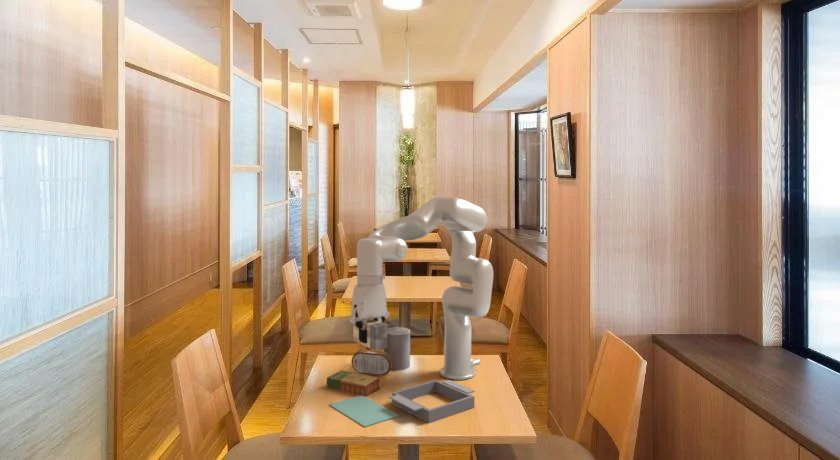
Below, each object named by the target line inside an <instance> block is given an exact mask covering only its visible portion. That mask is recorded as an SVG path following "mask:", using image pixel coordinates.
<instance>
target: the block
mask: <svg viewBox="0 0 840 460" xmlns="http://www.w3.org/2000/svg"><path fill="white" fill-rule="evenodd" d="M356 320H357V321H358V318H356ZM352 326H353V327H352V330H353V333H352V334H353V337H352V342H354V343H356V344H359V345H361V346H363V347H367V348H369V349H370V350H371V349H372V351H380V350H381V351H382V350H384V349H385V348H387V328H388V324H386V323H384V322H383V323H381V322H378V321H375V320H373V319H367V322H366V328H365V330H367V343H362V342H360V341H359V329H358V328H357V327H356V326H355V325H354V324H353V323H352Z"/></svg>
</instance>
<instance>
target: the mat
mask: <svg viewBox="0 0 840 460" xmlns="http://www.w3.org/2000/svg"><path fill="white" fill-rule="evenodd" d="M328 405H329V407H332V408H333V409H334V410H336V411H338V412H339V413H341V414H343V415H344V416H345V417H347V418H349V419H350V420H353V422H355V421H356V422H355V423H358V425H360V426H362V427H363V426H364V427H363V428H367V427H370V426H373V425H376V424H380V423H383V422H386V421H389V420H392V419H396V418H398V417H400V415H399V414H398V413H395V412H394V411H392V410H390V409H388V408H386V407H385V406H383V405H382V404H379V403H377V402H376V401H374V400H373V399H370V398H369V397H368V396H367V397H365V396H363V395H356V396H352V397H350V398H347V399H346V398H345V399H342V400H339V401H335V402H332V403H329V404H328Z"/></svg>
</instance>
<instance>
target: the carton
mask: <svg viewBox="0 0 840 460" xmlns="http://www.w3.org/2000/svg"><path fill="white" fill-rule="evenodd" d="M380 380H381V379H380V377H376V376H374V375H369V374H361V373H358V372H351V371H347V370H342V369H341V370H339V371H336V372H335V373H333V374H331V375H329V376H328V377H327V378H326V388H327V389H330V390H335V391H339V392H343V393H347V394H353V395H356V396H360V395H363V396H366V397H367V398H368V396H370V395H371V394H373V393H375V392H376V391H378V390H380V387H381V381H380Z"/></svg>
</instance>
